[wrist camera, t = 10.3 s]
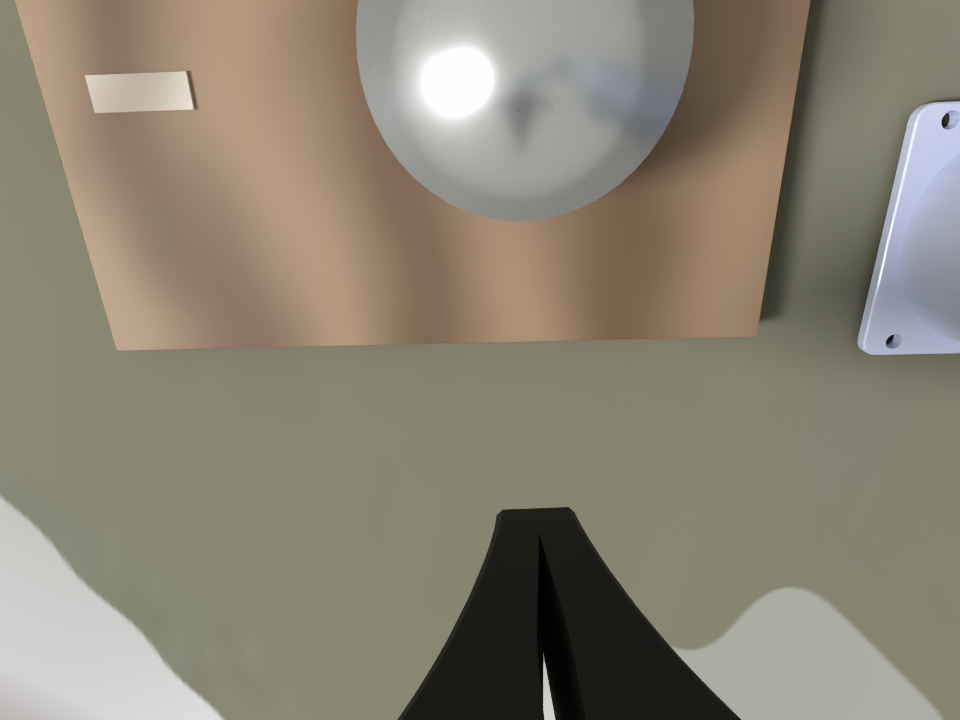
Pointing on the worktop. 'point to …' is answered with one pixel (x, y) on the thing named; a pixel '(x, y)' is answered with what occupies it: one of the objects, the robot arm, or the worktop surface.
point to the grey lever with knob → (522, 94)
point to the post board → (388, 188)
